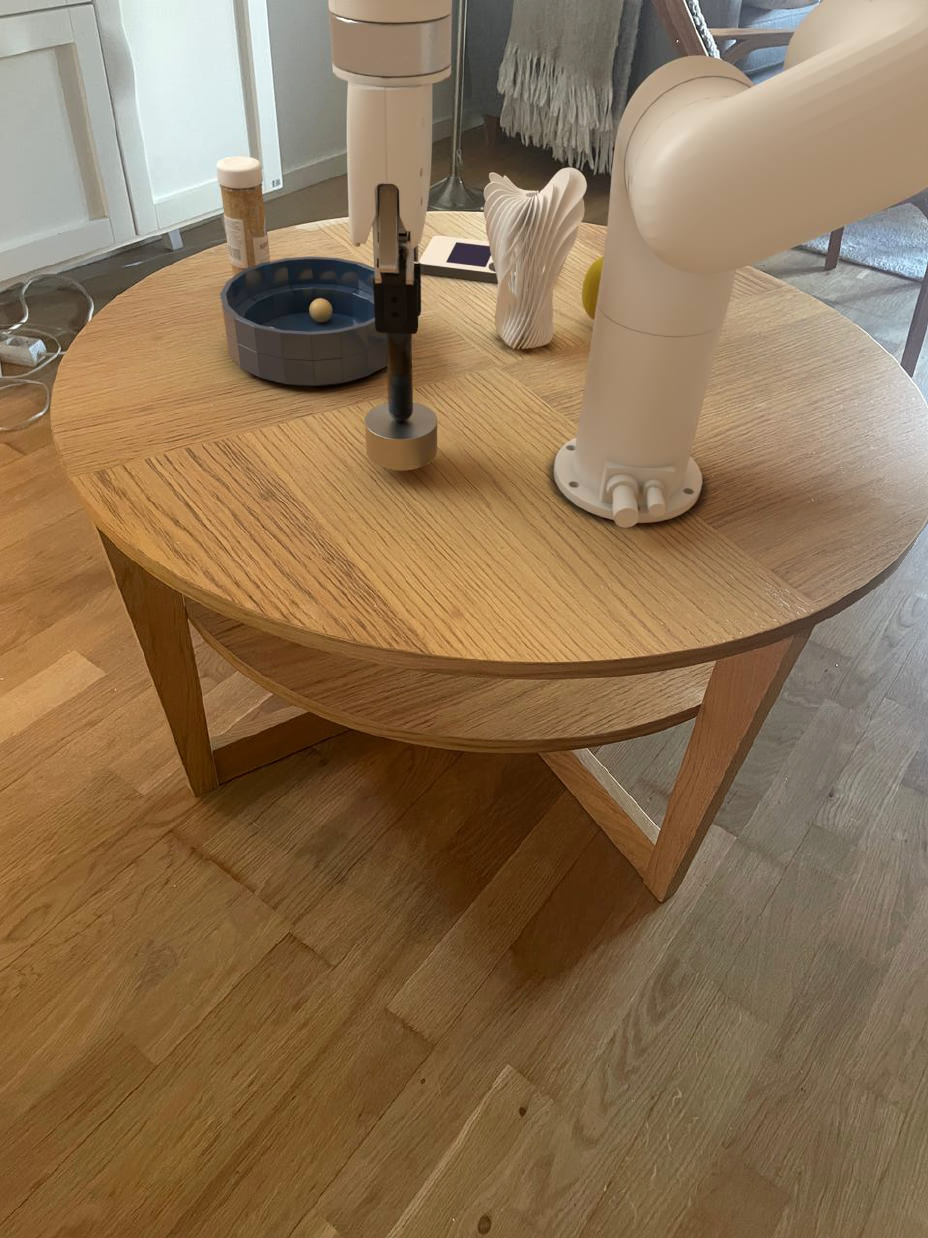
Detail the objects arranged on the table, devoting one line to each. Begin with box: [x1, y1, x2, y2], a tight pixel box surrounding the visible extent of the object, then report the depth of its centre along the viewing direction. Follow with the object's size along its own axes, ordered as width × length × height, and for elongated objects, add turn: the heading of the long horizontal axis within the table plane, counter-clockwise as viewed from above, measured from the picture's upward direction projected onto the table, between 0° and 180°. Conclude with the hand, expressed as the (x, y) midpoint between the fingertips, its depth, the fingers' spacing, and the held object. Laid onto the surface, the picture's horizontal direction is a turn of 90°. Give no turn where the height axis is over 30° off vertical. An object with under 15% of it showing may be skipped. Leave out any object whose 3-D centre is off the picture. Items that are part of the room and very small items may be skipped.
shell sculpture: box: [483, 167, 588, 350], centre depth 90 cm, size 8×8×18 cm
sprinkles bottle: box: [215, 155, 271, 277], centre depth 99 cm, size 5×5×14 cm
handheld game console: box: [418, 235, 545, 286], centre depth 110 cm, size 9×15×1 cm, turn 79°
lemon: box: [581, 255, 604, 321], centre depth 98 cm, size 6×6×8 cm
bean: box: [309, 298, 333, 323], centre depth 96 cm, size 2×2×2 cm
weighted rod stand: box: [364, 251, 438, 471], centre depth 72 cm, size 6×6×17 cm
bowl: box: [219, 255, 387, 387], centre depth 92 cm, size 17×17×6 cm
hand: (398, 321), depth 70 cm, fingers closed on weighted rod stand
